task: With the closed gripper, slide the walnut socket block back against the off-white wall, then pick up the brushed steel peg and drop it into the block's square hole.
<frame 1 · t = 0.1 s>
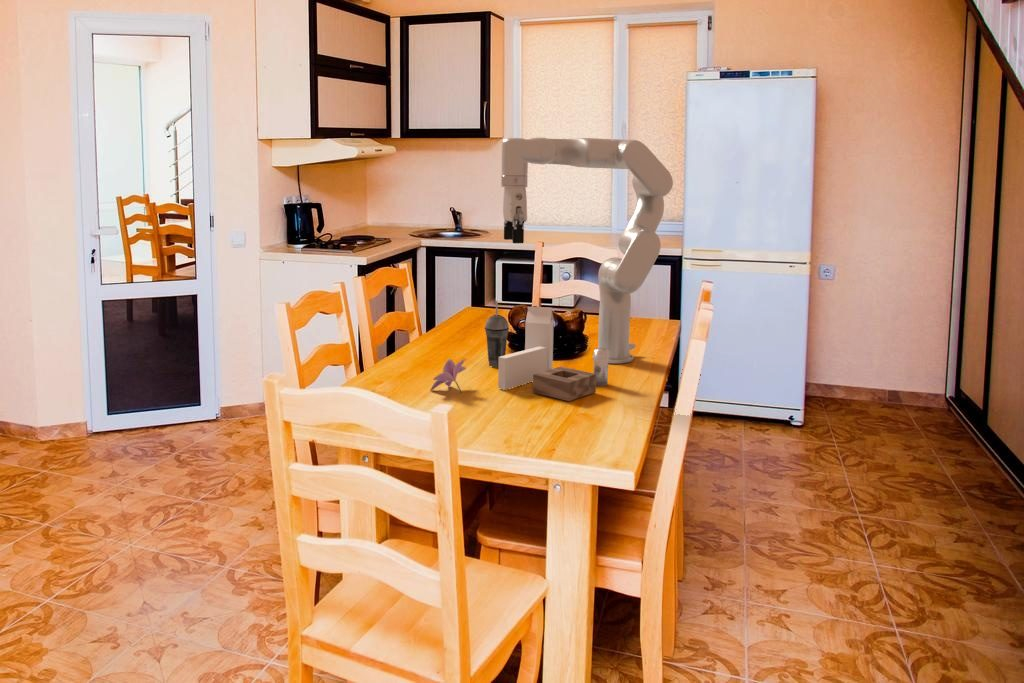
hand: (513, 241, 261), 37 cm above the table, tool pointing down, fingers open, 9 cm apart
steel peg: (600, 384, 249), on the table
lily: (450, 391, 241), on the table
beverage cup: (496, 366, 268), on the table
milk carton: (538, 371, 263), on the table
socket block: (564, 383, 239), point 3 cm above the table, slide at 7.0 cm
backstop wall: (522, 383, 249), on the table
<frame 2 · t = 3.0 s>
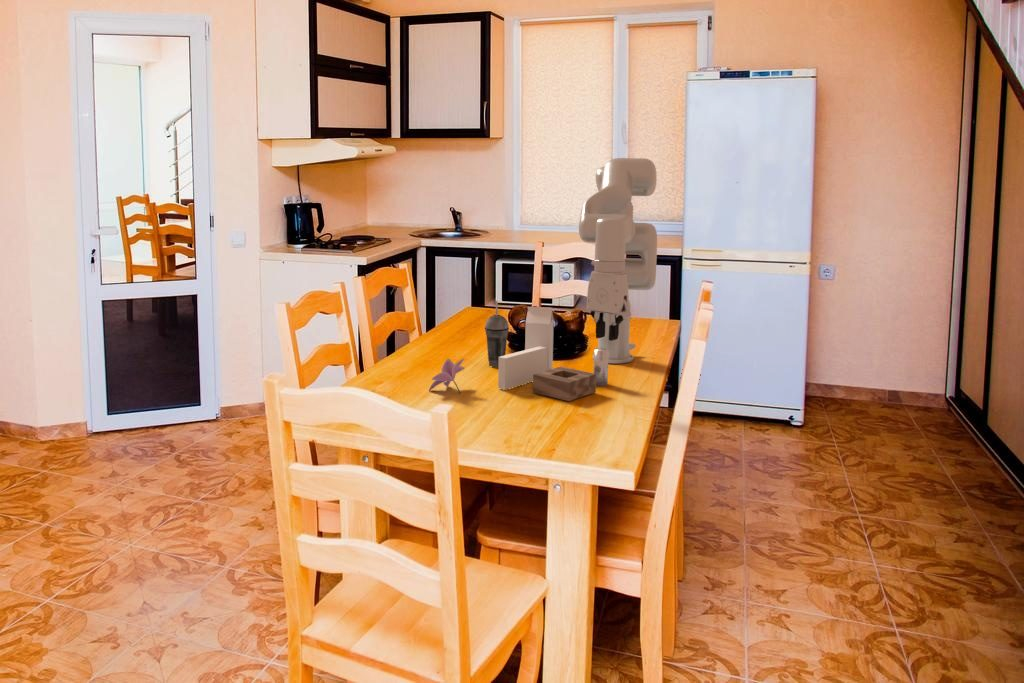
hand: (606, 337, 228), 17 cm above the table, tool pointing down, fingers open, 3 cm apart
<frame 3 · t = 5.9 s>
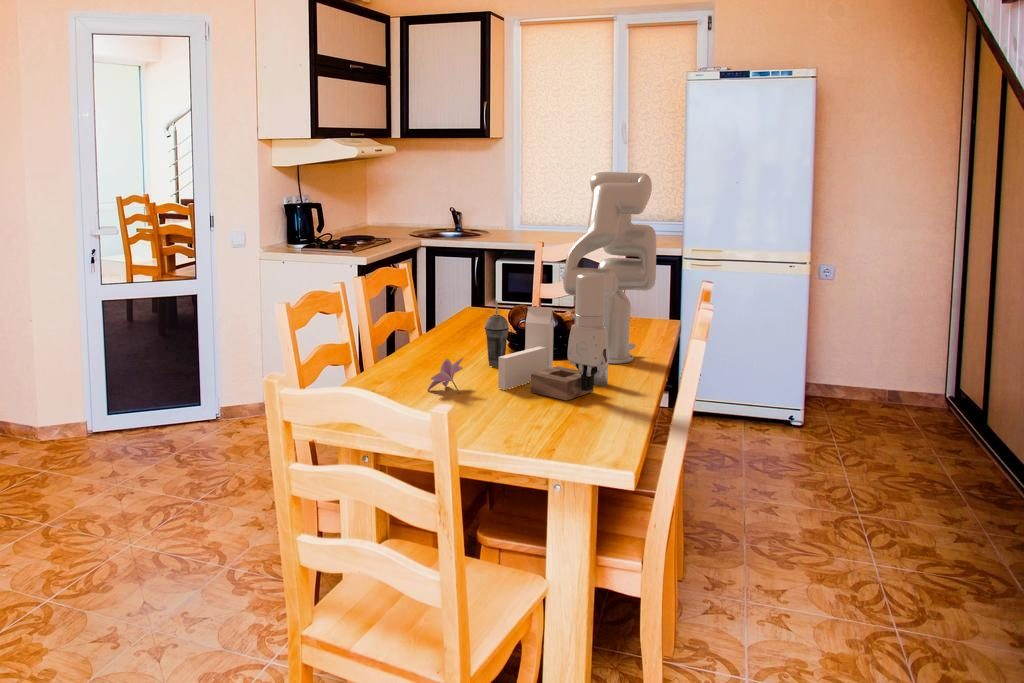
hand: (587, 389, 235), 3 cm above the table, tool pointing down, fingers closed
socket block: (562, 382, 240), point 3 cm above the table, slide at 6.2 cm, touching gripper
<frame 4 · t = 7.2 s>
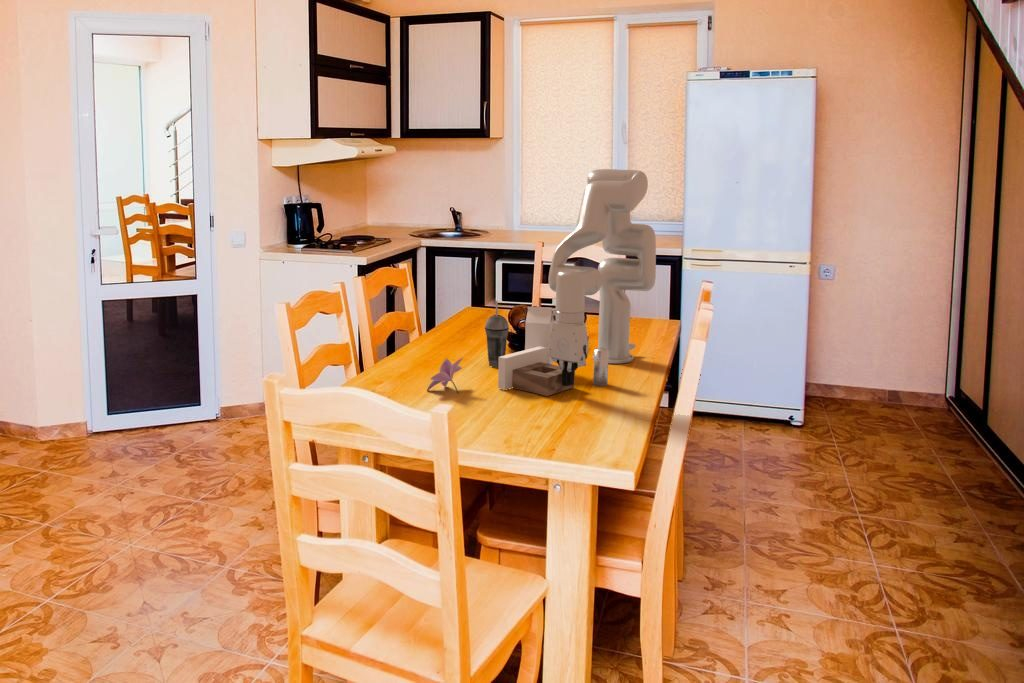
hand: (567, 384, 239), 3 cm above the table, tool pointing down, fingers closed
socket block: (543, 378, 244), point 3 cm above the table, slide at -0.1 cm, touching gripper
everything else where it was.
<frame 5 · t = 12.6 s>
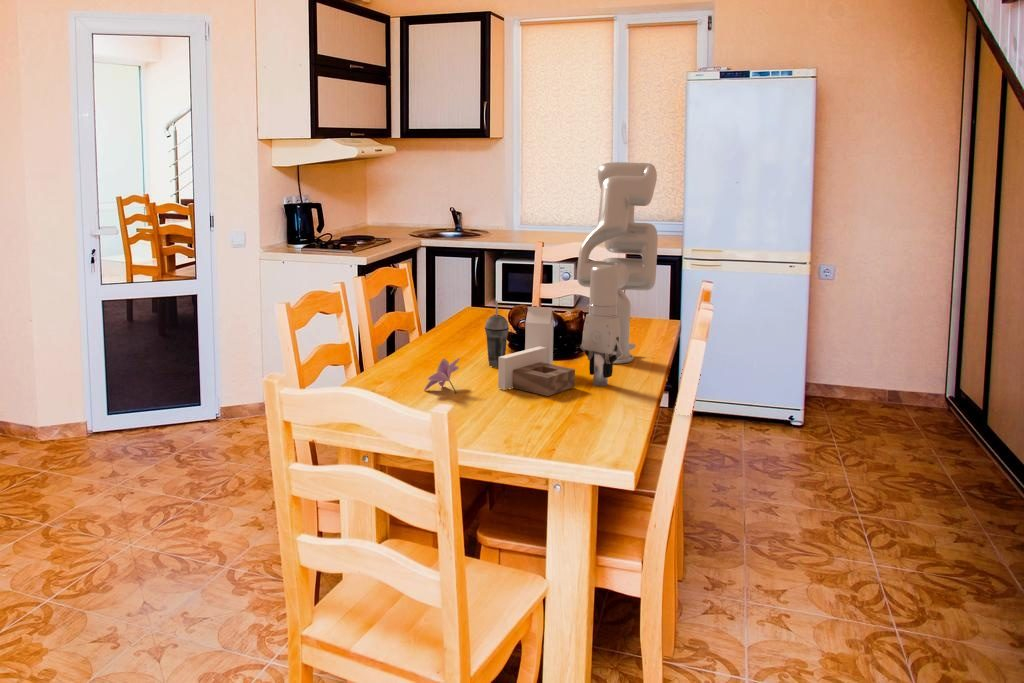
hand: (600, 374, 248), 3 cm above the table, tool pointing down, fingers closed on steel peg, 4 cm apart
steel peg: (600, 384, 249), on the table, touching gripper
socket block: (544, 378, 244), point 3 cm above the table, slide at 0.0 cm
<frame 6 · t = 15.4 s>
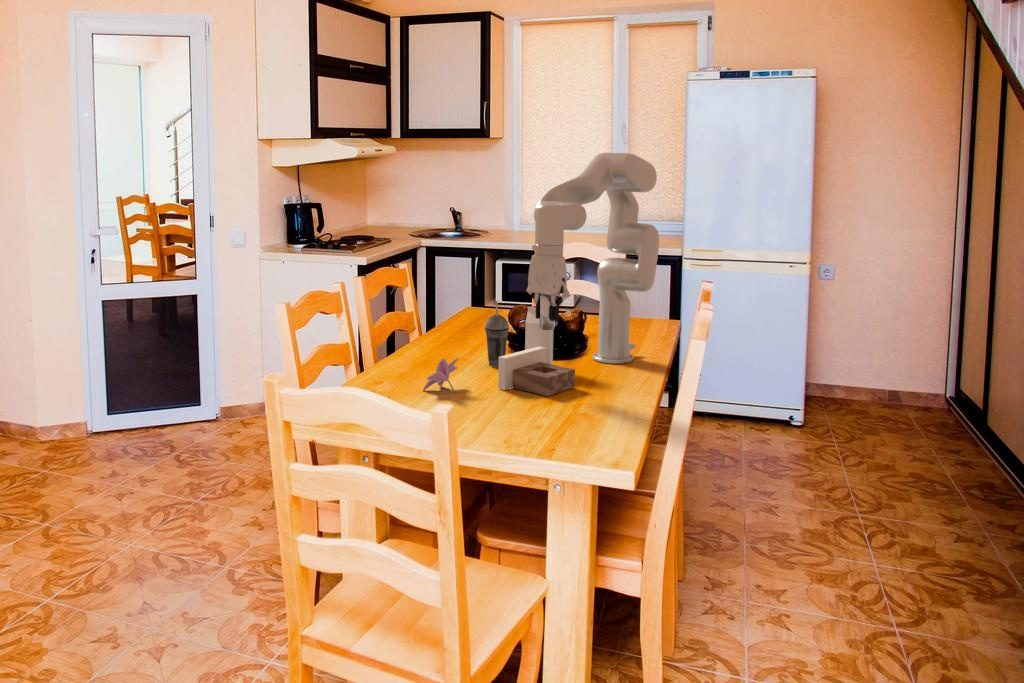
hand: (547, 318, 240), 20 cm above the table, tool pointing down, fingers closed on steel peg, 4 cm apart
steel peg: (546, 328, 240), point 17 cm above the table, touching gripper
when the fingers open (6 cm above the table, at t = 18.2 s): steel peg drops 2 cm, resting on socket block.
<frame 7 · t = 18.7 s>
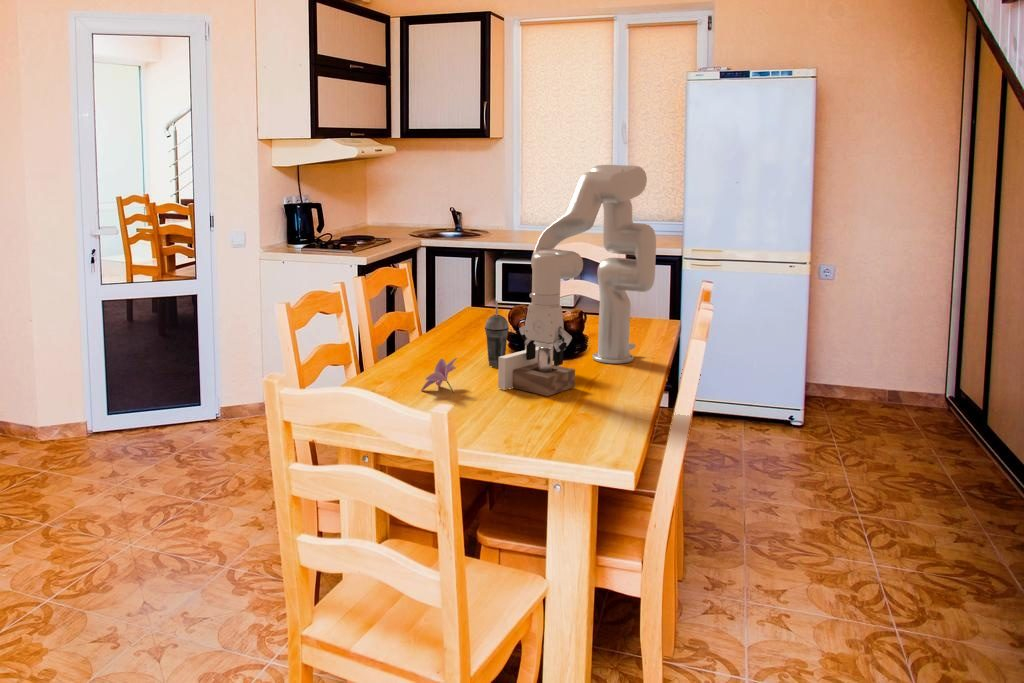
hand: (544, 362, 242), 7 cm above the table, tool pointing down, fingers open, 9 cm apart
steel peg: (544, 383, 244), point 1 cm above the table, touching socket block
socket block: (544, 378, 244), point 3 cm above the table, slide at 0.0 cm, touching steel peg
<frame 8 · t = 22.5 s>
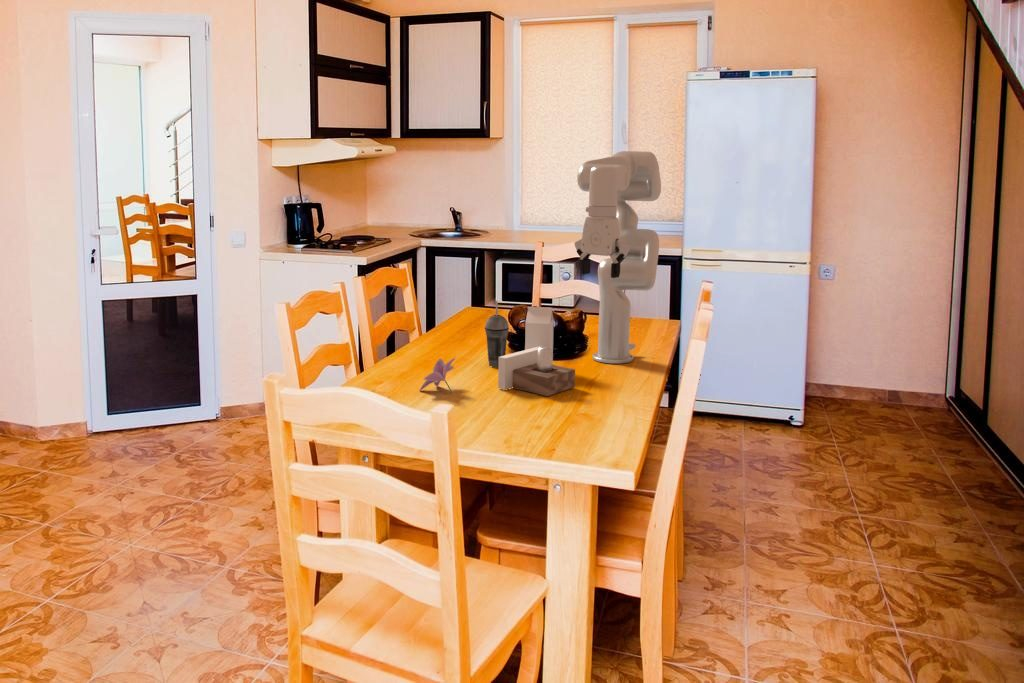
hand: (600, 275, 244), 30 cm above the table, tool pointing down, fingers open, 9 cm apart
at the end: socket block slide at 0.0 cm; steel peg 0.0 cm from the socket block (horizontally); steel peg point 1.3 cm above the table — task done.
